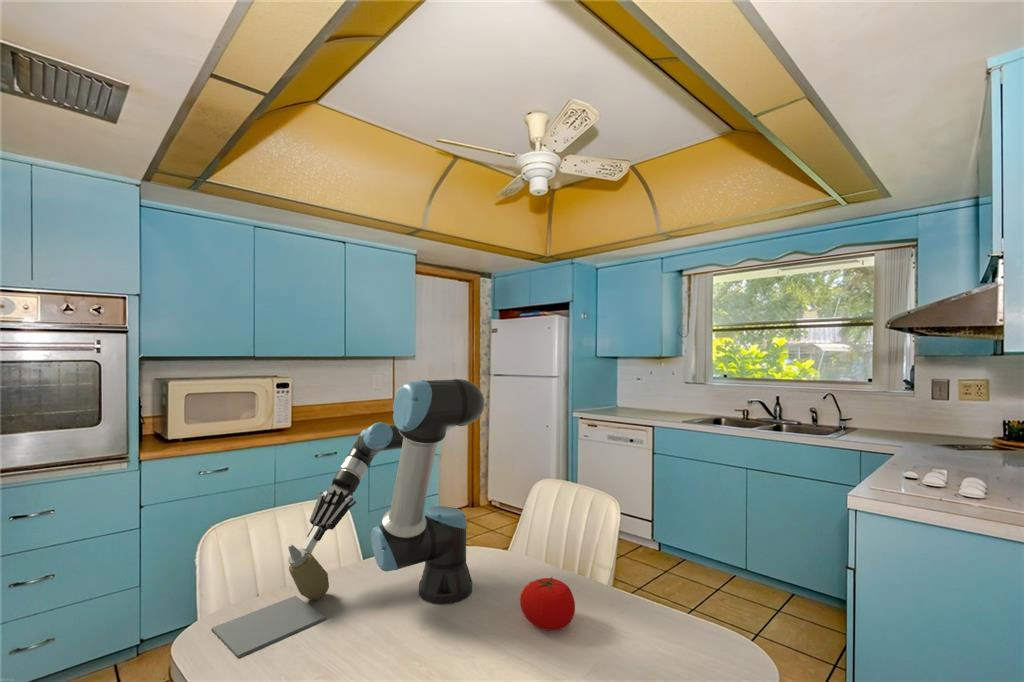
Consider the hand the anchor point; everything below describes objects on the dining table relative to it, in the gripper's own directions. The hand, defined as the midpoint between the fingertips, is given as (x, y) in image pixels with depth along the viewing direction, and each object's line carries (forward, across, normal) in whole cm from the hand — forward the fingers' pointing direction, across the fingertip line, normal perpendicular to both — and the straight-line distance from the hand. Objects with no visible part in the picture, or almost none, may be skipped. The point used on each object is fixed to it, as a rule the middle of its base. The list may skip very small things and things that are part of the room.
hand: (306, 550), depth 136 cm
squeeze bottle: (+6, -2, -11) cm, 13 cm away
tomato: (-2, -65, -20) cm, 68 cm away
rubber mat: (+19, -1, -1) cm, 19 cm away
